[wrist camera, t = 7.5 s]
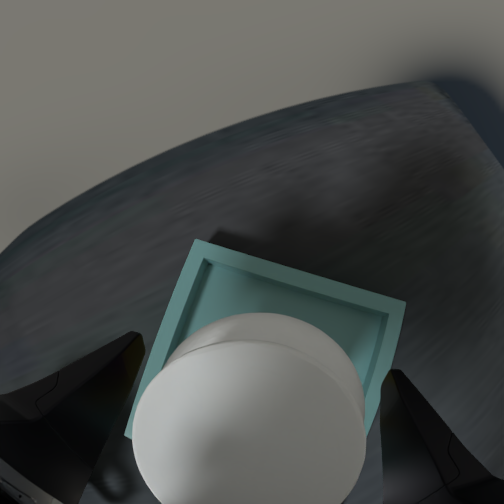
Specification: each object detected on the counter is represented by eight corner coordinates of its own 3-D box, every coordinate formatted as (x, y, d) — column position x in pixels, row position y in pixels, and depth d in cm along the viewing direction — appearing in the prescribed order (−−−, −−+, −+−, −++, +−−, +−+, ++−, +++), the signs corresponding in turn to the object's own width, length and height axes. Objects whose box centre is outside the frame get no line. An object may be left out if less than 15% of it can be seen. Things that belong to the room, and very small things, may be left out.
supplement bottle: (220, 325, 18) (112, 265, 6) (325, 335, 17) (426, 293, 5) (207, 426, 16) (96, 523, 4) (313, 437, 15) (373, 562, 3)
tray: (328, 495, 14) (333, 506, 12) (135, 429, 16) (124, 435, 15) (395, 307, 18) (406, 302, 16) (201, 248, 20) (195, 238, 19)
